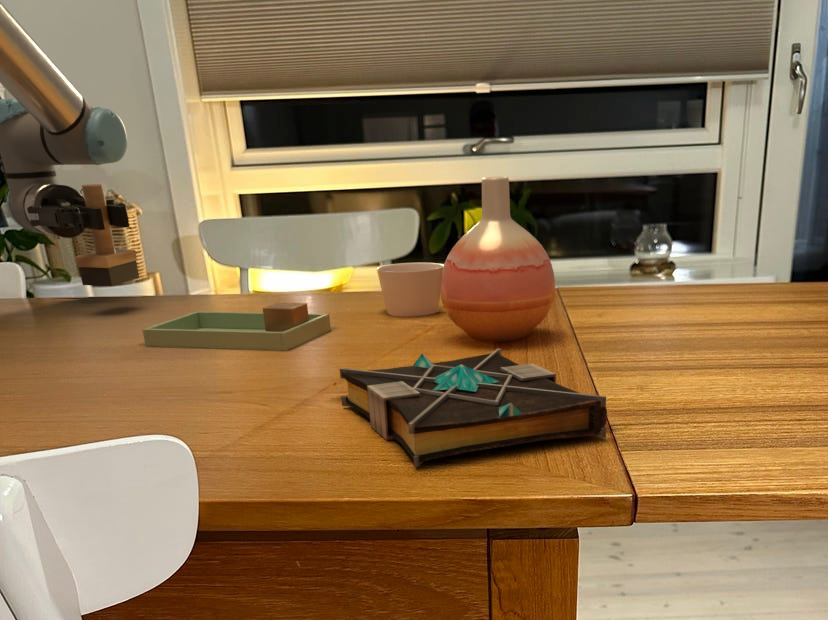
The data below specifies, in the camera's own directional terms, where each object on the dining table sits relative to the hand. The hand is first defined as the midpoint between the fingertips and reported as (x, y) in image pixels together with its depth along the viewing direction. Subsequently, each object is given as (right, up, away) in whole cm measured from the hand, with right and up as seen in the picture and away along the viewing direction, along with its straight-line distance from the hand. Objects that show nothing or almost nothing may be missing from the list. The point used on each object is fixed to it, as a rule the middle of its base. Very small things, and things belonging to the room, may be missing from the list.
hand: (112, 218), depth 133 cm
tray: (+22, -22, -14) cm, 34 cm away
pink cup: (+42, -14, -2) cm, 45 cm away
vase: (+54, -22, -17) cm, 61 cm away
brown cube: (+28, -22, -17) cm, 39 cm away
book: (+50, -40, -49) cm, 81 cm away
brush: (-3, -6, +8) cm, 11 cm away
